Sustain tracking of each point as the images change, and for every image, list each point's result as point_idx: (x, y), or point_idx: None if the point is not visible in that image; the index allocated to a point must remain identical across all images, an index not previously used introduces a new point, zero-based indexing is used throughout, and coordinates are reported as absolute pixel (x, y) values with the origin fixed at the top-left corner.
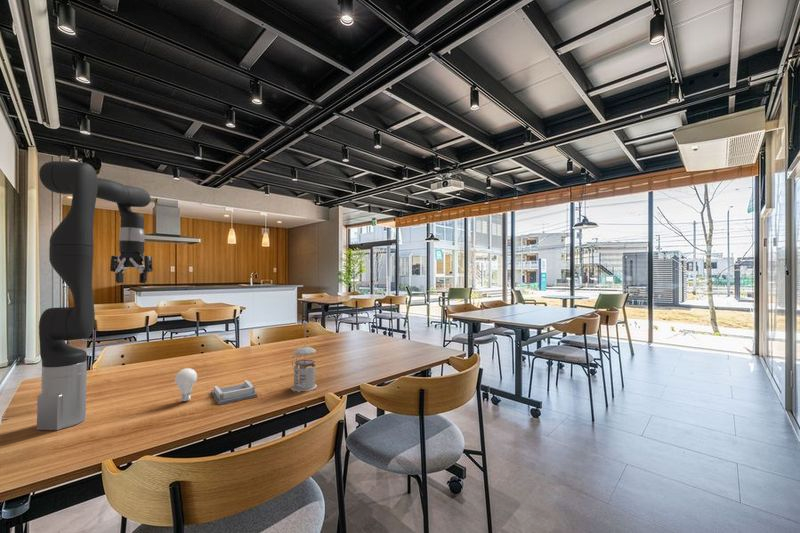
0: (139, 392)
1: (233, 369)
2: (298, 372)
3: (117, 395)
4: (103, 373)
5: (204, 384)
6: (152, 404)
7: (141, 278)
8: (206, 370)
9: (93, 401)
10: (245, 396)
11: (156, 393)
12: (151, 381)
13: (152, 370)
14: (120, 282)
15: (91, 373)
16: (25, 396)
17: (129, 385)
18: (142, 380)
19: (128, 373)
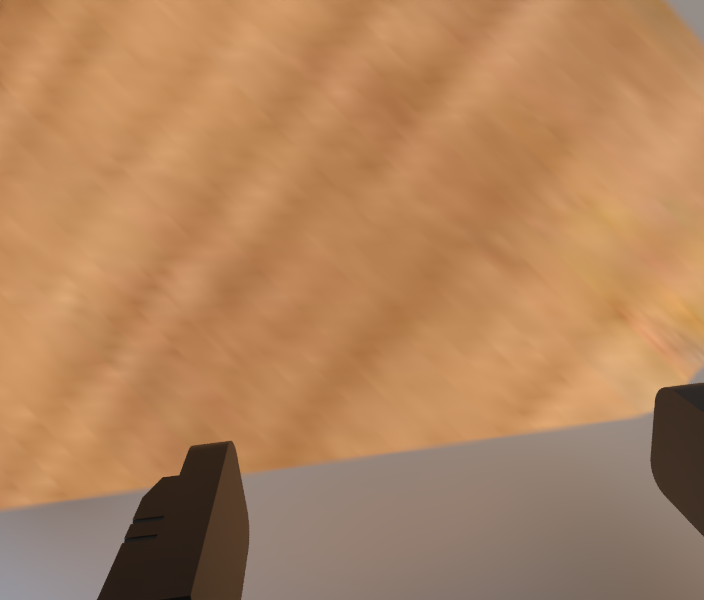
0: (237, 140)
1: (82, 474)
2: None
3: (298, 94)
4: (611, 342)
5: (41, 272)
6: (47, 10)
7: (173, 508)
8: (193, 443)
9: (332, 14)
10: None
11: (152, 138)
12: (310, 276)
13: (434, 409)
14: (659, 425)
15: (663, 335)
16: (670, 35)
17: (360, 216)
18: (361, 282)
19: (504, 357)
